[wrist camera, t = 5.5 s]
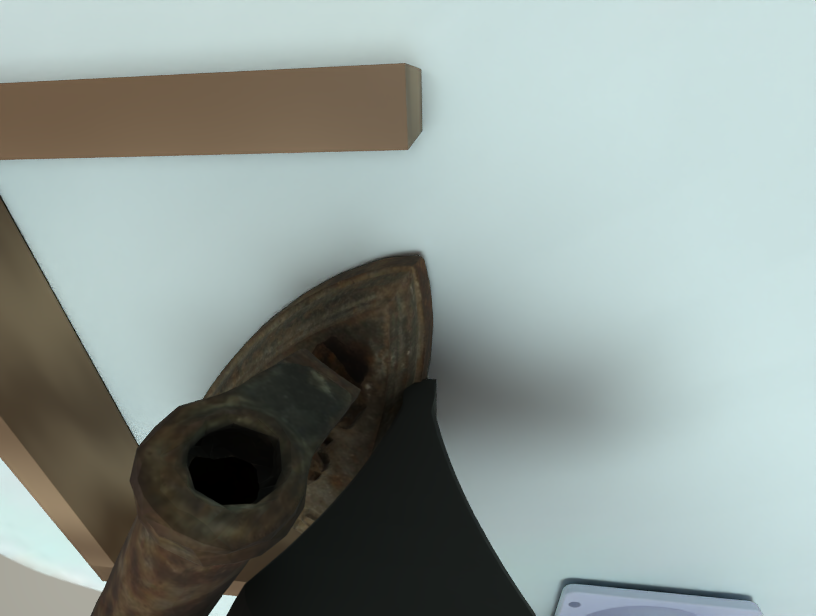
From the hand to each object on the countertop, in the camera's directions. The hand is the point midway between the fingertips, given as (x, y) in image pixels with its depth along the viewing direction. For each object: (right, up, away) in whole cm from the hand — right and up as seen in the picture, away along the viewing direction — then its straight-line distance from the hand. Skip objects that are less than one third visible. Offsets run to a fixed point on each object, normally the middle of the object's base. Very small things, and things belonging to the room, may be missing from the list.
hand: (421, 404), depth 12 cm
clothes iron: (-3, 0, +1) cm, 3 cm away
